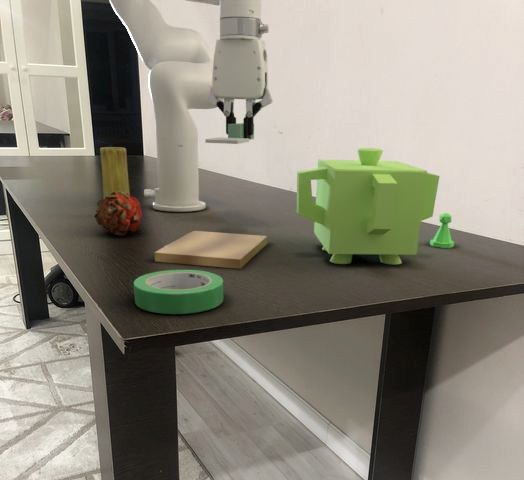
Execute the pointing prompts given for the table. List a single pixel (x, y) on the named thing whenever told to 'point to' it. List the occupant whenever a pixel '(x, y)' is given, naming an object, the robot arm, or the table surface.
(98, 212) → the dragon fruit
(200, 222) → the table surface
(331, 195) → the green handled cubic container
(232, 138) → the spatula
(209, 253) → the cutting board
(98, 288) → the table surface
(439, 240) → the game piece
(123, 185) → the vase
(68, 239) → the table surface
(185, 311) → the tape roll
